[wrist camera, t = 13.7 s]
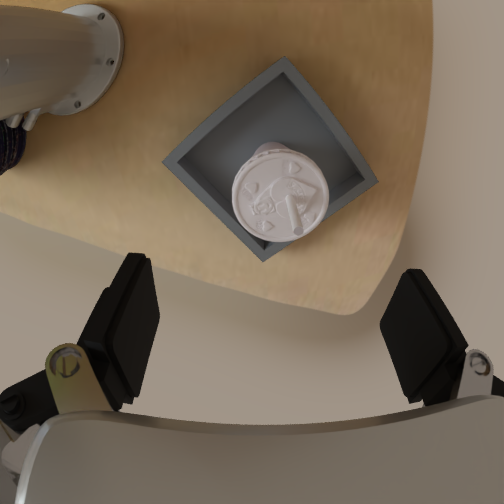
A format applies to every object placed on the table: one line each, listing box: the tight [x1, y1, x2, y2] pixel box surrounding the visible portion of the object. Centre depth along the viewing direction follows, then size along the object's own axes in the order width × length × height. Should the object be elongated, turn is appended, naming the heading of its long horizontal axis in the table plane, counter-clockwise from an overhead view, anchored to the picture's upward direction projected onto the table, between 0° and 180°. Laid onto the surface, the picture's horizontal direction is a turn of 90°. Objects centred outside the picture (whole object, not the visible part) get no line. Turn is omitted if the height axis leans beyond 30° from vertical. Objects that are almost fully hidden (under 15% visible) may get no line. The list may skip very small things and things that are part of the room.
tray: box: [162, 56, 379, 262], centre depth 26 cm, size 14×14×3 cm
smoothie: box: [232, 142, 329, 242], centre depth 21 cm, size 6×6×14 cm
